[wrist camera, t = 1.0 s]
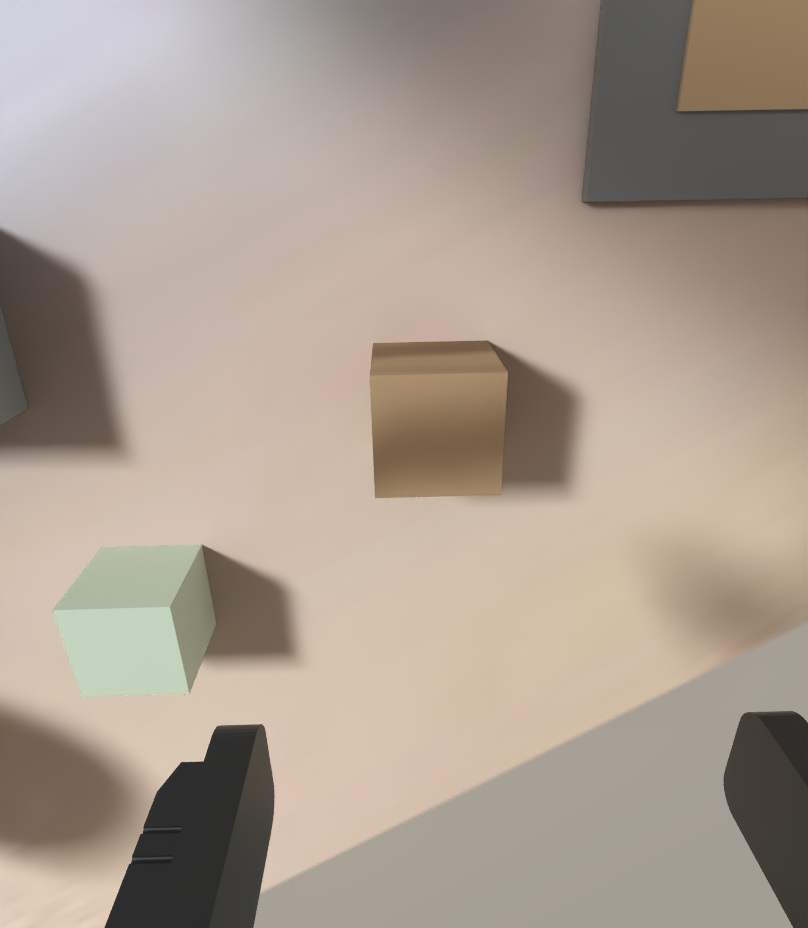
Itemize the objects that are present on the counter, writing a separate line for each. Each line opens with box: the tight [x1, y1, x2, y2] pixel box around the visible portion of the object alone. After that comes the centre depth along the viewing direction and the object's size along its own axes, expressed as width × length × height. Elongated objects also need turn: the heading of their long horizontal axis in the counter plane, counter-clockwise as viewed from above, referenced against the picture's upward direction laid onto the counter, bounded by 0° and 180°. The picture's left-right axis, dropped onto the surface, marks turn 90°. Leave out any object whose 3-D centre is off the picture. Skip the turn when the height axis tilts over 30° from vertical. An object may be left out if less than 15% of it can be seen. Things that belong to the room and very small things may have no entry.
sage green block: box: [52, 545, 216, 697], centre depth 29 cm, size 5×5×5 cm
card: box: [582, 0, 808, 202], centre depth 21 cm, size 12×12×1 cm
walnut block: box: [370, 341, 508, 498], centre depth 25 cm, size 5×5×5 cm
